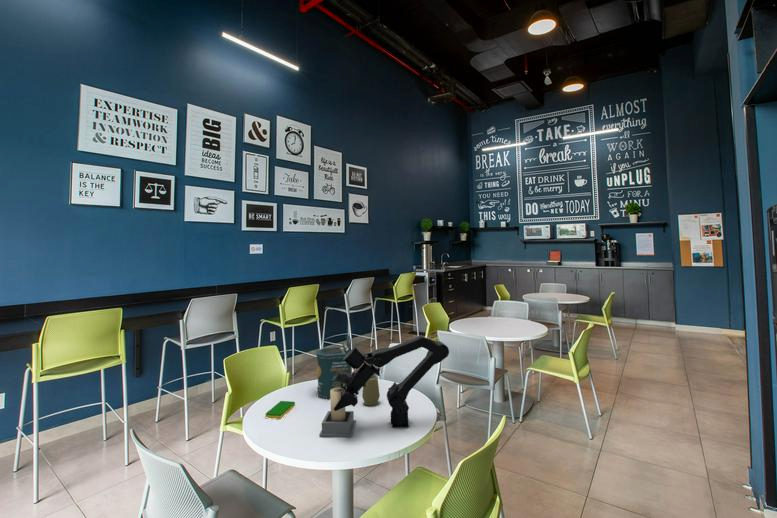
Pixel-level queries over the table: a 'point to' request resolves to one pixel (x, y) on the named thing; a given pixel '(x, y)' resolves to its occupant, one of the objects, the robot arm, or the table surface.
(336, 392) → the paper roll
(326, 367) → the dark green canister
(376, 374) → the robot arm
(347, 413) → the square tray
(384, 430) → the table surface
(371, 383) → the squeeze bottle
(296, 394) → the table surface
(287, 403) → the dish sponge
